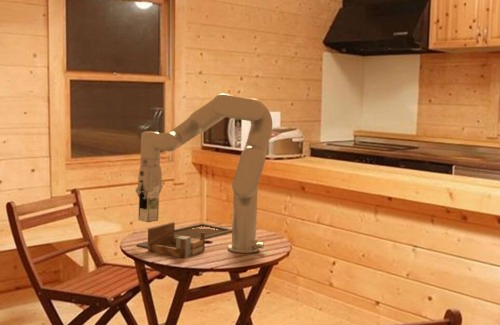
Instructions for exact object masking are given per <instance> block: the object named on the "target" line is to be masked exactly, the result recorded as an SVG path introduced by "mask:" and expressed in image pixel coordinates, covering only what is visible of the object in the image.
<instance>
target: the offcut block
mask: <svg viewBox="0 0 500 325" xmlns="http://www.w3.org/2000/svg"><path fill="white" fill-rule="evenodd" d="M181 239H185V258H187V257H189V256H191V254H190V249H191V237H188V236H180V237H177V238H176V245H175V248H178V249H181Z"/></svg>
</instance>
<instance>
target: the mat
mask: <svg viewBox="0 0 500 325" xmlns="http://www.w3.org/2000/svg"><path fill="white" fill-rule="evenodd" d="M136 247H140V248H146V249H148V240H147V241H144V242H140V243H137V244H136Z"/></svg>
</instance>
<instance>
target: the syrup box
mask: <svg viewBox="0 0 500 325" xmlns="http://www.w3.org/2000/svg"><path fill="white" fill-rule="evenodd" d="M159 189H160V186H156V187H154V191H152V192H147V196H146V199H147V209H142V208H140V198H139V197H138V200H139V201H138V218H137V219H138V221H140V222H145V223H153V222H157V221H159V212H160V211H159V207H160V206H159V205H160V193H159ZM143 191H145V190H144V189H143ZM143 195H144V193H143Z"/></svg>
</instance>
